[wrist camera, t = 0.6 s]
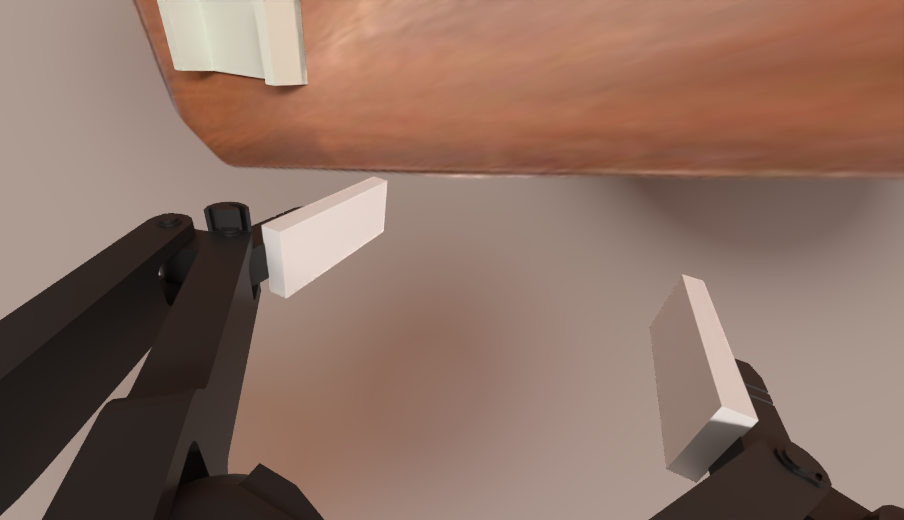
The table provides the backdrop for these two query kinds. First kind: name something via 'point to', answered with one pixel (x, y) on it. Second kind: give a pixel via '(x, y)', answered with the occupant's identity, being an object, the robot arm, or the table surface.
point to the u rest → (237, 38)
